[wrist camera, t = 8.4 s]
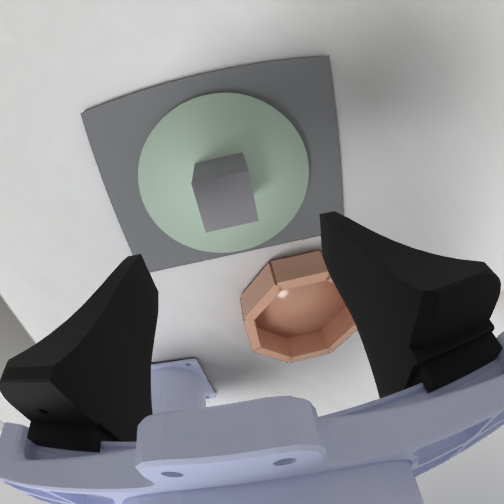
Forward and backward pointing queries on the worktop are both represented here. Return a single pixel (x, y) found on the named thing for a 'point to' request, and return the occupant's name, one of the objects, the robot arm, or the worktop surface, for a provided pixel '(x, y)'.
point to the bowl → (295, 310)
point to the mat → (227, 80)
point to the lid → (223, 172)
